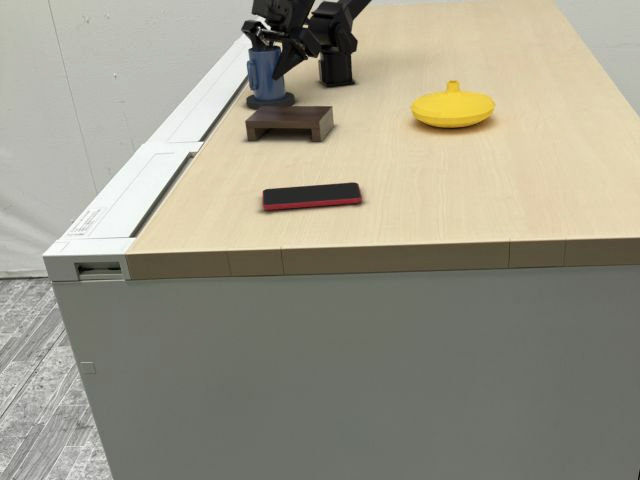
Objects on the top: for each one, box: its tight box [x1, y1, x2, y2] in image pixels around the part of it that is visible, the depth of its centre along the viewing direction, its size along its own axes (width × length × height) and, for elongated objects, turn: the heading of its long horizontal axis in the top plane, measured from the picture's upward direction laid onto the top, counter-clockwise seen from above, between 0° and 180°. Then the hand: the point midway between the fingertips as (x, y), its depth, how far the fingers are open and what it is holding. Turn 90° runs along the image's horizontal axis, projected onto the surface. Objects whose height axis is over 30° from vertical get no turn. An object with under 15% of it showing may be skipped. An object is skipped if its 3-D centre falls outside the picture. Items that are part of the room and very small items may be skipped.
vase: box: [410, 79, 496, 128], centre depth 152 cm, size 16×16×7 cm
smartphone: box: [262, 182, 363, 211], centre depth 126 cm, size 7×1×15 cm
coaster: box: [245, 91, 296, 111], centre depth 171 cm, size 10×10×1 cm
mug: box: [246, 44, 287, 101], centre depth 167 cm, size 8×7×9 cm
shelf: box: [244, 105, 335, 143], centre depth 153 cm, size 10×14×4 cm
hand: (262, 77), depth 167 cm, fingers closed on mug, 7 cm apart
